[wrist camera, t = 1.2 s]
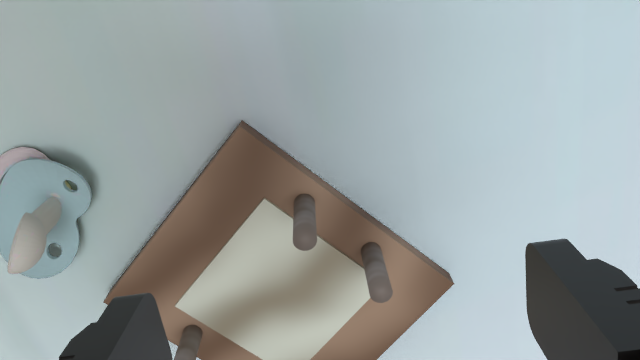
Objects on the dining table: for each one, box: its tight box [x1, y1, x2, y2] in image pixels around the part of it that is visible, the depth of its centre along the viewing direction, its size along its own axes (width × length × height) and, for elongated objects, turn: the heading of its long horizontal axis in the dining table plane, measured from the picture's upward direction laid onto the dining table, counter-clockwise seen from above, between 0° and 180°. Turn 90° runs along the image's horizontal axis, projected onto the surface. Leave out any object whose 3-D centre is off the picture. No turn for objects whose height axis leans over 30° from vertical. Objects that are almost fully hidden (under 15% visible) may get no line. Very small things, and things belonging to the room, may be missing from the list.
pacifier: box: [0, 147, 92, 279], centre depth 29 cm, size 7×6×6 cm
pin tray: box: [104, 121, 454, 360], centre depth 31 cm, size 16×14×6 cm
